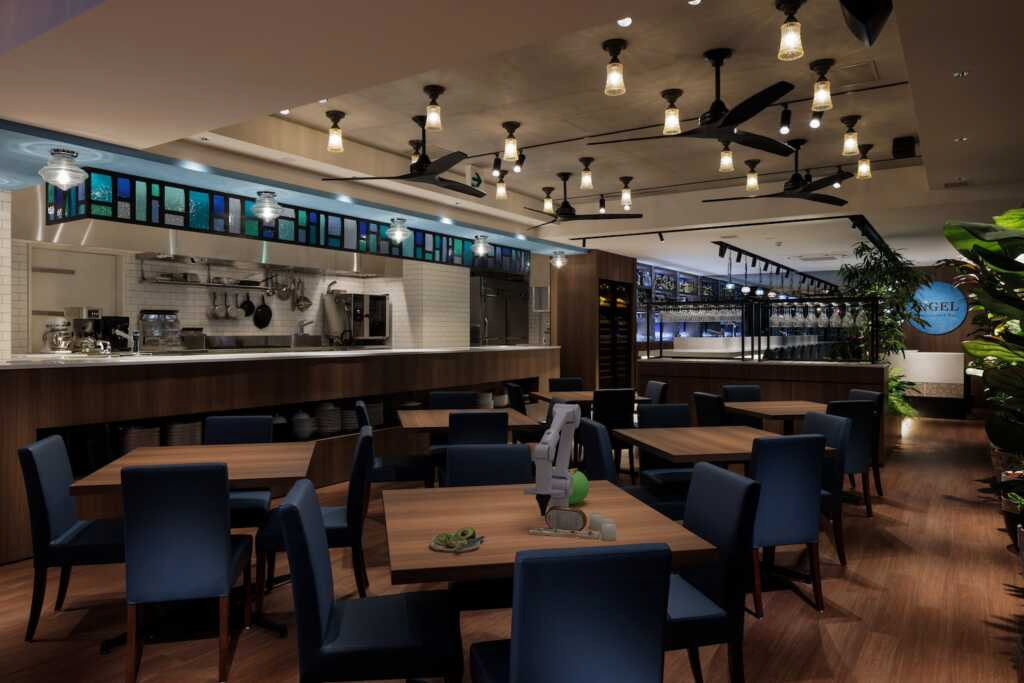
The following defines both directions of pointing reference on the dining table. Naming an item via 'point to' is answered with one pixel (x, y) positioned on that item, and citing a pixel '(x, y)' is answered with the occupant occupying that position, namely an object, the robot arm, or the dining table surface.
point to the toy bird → (578, 486)
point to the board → (565, 533)
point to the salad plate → (457, 541)
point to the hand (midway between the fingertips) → (543, 515)
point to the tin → (565, 518)
